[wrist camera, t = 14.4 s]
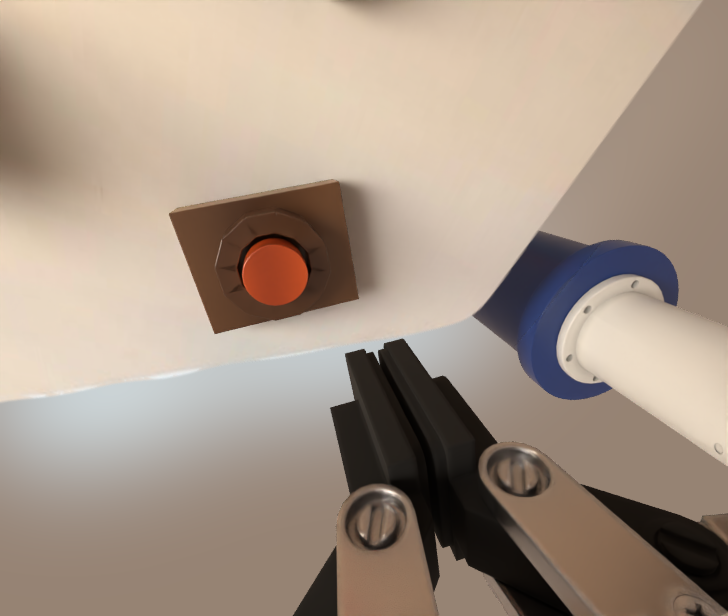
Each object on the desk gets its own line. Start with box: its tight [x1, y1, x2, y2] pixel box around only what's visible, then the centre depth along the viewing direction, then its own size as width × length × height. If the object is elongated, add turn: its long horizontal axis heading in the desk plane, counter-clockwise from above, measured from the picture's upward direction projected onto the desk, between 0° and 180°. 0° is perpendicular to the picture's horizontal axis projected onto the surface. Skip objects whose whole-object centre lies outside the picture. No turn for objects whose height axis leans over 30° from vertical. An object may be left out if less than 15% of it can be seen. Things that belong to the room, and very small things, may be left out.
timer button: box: [242, 238, 308, 306], centre depth 21 cm, size 4×4×2 cm
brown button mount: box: [169, 179, 359, 334], centre depth 23 cm, size 10×8×4 cm
